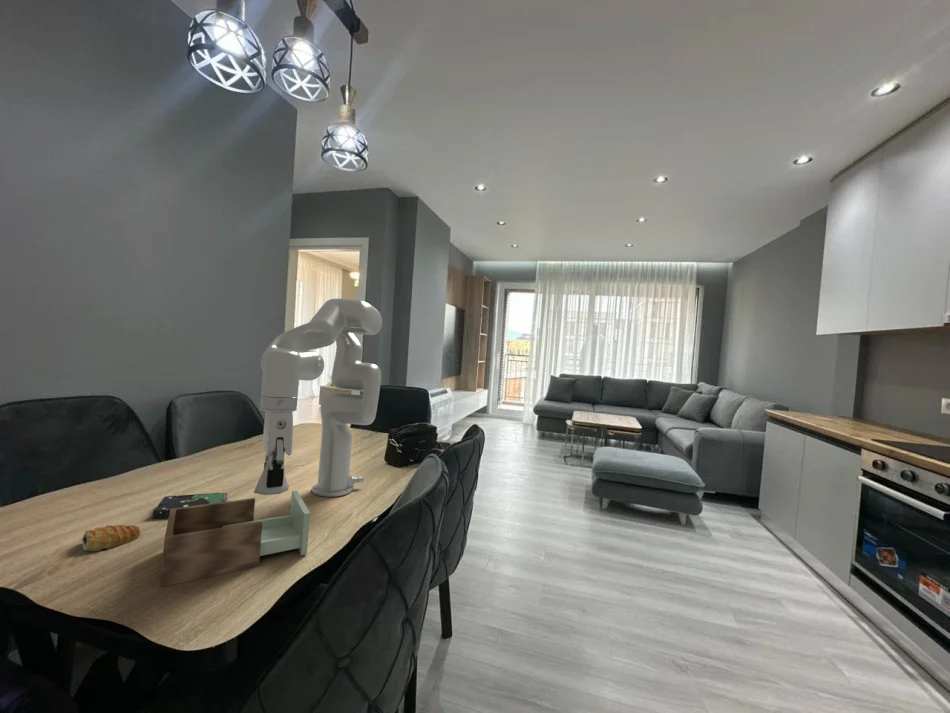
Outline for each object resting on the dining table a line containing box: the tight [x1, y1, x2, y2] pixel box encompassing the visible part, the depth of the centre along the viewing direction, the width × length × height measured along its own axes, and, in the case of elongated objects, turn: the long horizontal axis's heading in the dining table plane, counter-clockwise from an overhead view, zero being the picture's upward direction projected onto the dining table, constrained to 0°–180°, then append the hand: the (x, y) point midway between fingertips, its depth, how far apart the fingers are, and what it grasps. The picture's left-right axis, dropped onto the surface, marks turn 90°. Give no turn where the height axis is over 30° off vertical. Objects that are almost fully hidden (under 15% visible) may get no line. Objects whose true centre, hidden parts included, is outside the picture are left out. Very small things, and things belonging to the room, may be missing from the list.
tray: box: [223, 490, 311, 557], centre depth 88 cm, size 16×15×9 cm
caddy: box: [160, 497, 262, 588], centre depth 82 cm, size 16×15×9 cm
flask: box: [253, 453, 290, 496], centre depth 88 cm, size 7×7×10 cm
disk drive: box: [152, 492, 228, 520], centre depth 105 cm, size 10×3×15 cm
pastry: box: [81, 524, 141, 553], centre depth 85 cm, size 9×7×4 cm
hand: (272, 481), depth 88 cm, fingers closed on flask, 5 cm apart
